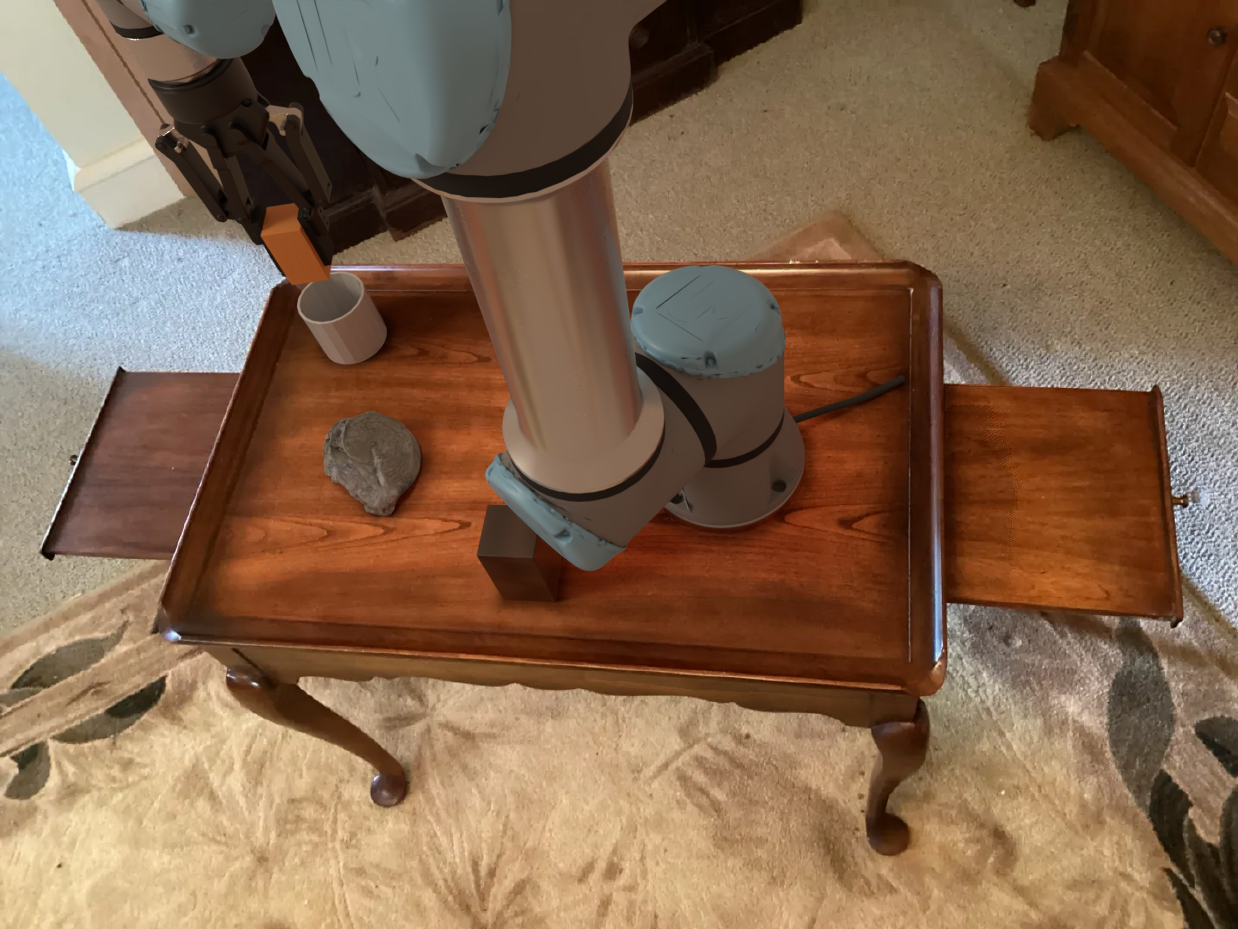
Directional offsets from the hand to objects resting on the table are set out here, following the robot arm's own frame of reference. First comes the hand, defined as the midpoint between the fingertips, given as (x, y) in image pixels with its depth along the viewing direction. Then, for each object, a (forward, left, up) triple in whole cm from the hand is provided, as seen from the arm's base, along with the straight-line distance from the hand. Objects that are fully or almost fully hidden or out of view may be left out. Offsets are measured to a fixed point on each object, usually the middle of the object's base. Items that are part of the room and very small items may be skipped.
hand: (307, 258), depth 98 cm
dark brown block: (-21, +32, -13) cm, 40 cm away
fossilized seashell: (-4, +18, -13) cm, 23 cm away
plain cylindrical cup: (0, 0, -13) cm, 13 cm away
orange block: (0, 0, -1) cm, 1 cm away
